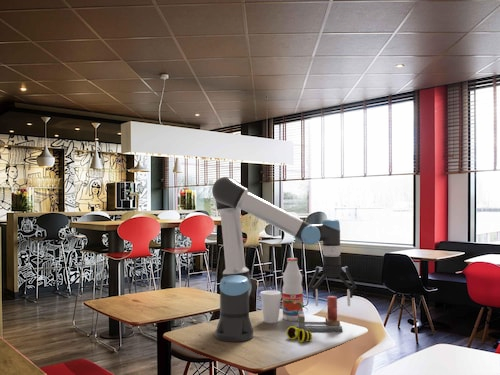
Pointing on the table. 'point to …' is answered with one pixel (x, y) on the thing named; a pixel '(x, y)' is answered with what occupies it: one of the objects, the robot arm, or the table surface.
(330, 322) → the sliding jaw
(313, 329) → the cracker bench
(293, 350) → the table surface
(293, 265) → the fruit juice
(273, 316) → the foam cup
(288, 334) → the opera glasses
